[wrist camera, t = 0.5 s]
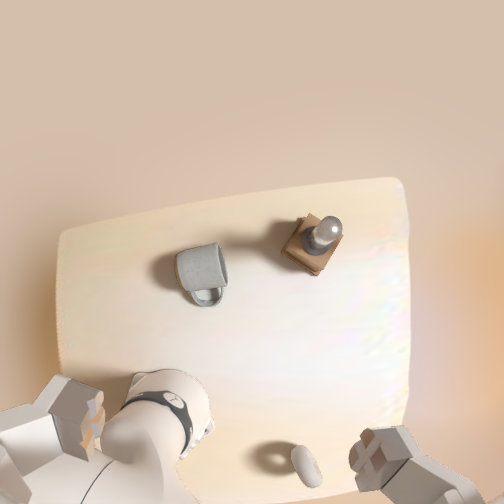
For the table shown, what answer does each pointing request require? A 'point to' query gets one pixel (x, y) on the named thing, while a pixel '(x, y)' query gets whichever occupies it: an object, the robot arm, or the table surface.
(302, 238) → the walnut stand
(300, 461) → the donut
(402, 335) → the table surface
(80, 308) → the table surface
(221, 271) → the ceramic mug
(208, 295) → the table surface
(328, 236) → the brushed metal cylinder
